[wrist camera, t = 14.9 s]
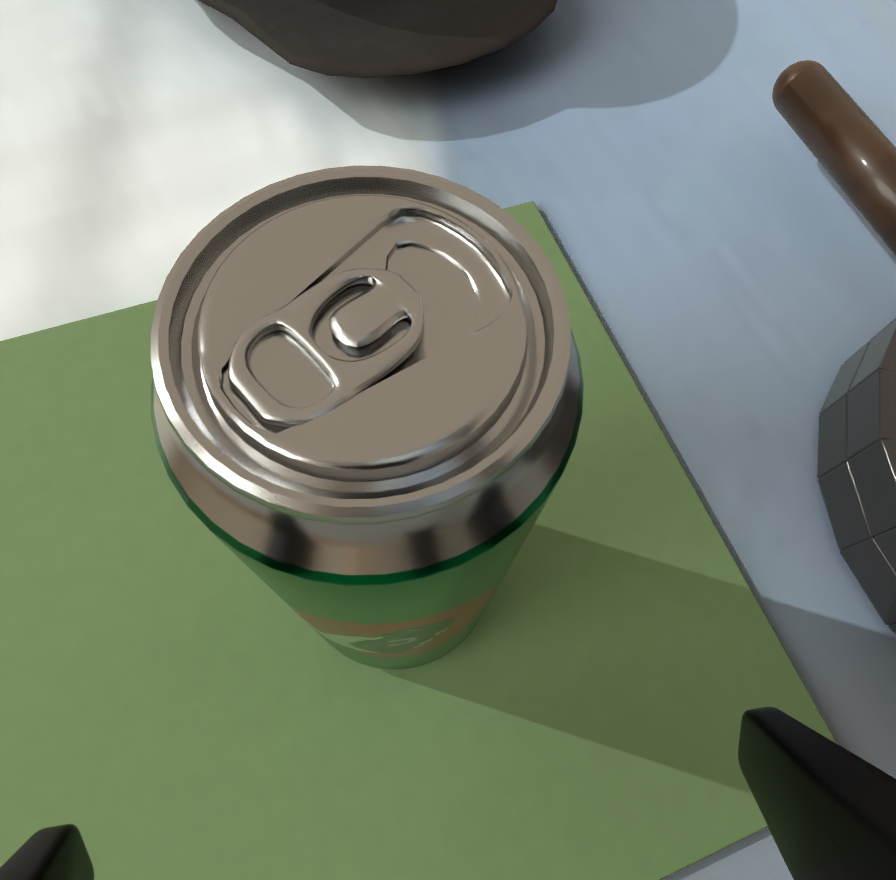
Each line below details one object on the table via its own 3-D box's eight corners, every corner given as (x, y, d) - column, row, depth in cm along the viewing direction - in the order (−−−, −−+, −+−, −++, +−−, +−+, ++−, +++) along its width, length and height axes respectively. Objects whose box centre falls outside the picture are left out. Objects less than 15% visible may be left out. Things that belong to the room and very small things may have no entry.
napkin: (851, 781, 16) (859, 781, 16) (12, 1193, 13) (3, 1204, 12) (532, 206, 24) (533, 200, 23) (-54, 361, 20) (-60, 356, 20)
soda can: (528, 581, 18) (710, 339, 7) (386, 716, 16) (317, 689, 5) (408, 453, 19) (393, 79, 8) (266, 565, 17) (11, 292, 6)
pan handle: (979, 310, 20) (1028, 273, 19) (934, 325, 20) (980, 289, 18) (794, 90, 24) (821, 43, 23) (753, 100, 24) (778, 54, 22)
